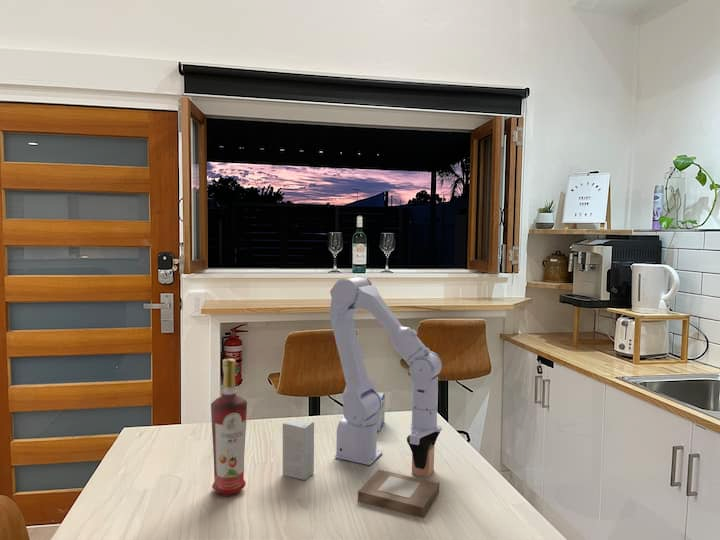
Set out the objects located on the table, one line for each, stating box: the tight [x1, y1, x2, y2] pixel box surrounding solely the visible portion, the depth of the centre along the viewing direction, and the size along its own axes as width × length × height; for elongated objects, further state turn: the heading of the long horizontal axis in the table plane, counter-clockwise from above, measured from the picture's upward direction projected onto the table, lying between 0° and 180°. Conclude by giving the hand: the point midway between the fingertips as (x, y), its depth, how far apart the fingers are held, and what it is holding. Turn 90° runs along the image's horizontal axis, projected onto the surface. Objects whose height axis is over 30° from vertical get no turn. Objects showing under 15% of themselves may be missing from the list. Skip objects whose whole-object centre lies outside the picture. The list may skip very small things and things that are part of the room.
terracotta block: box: [411, 445, 435, 478], centre depth 120 cm, size 4×4×6 cm
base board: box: [357, 469, 440, 518], centre depth 109 cm, size 14×11×2 cm
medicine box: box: [377, 391, 386, 432], centre depth 148 cm, size 8×4×9 cm, turn 168°
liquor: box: [210, 358, 248, 497], centre depth 109 cm, size 7×7×28 cm
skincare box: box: [282, 417, 315, 481], centre depth 117 cm, size 6×4×12 cm
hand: (423, 463), depth 120 cm, fingers closed on terracotta block, 4 cm apart
